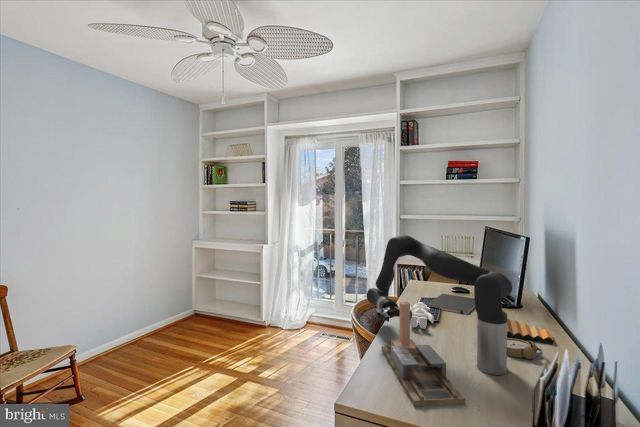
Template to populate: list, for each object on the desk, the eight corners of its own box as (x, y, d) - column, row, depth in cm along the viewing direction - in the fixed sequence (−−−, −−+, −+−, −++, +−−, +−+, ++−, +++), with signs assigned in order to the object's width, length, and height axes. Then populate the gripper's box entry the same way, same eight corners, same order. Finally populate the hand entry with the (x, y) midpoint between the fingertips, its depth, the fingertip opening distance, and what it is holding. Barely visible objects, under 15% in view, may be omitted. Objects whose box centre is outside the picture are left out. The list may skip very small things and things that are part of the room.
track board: (381, 350, 130) (381, 344, 130) (419, 349, 131) (419, 343, 131) (413, 406, 94) (413, 397, 94) (464, 403, 95) (465, 395, 95)
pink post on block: (391, 347, 129) (391, 300, 129) (411, 346, 130) (411, 300, 129) (397, 356, 121) (397, 306, 121) (418, 355, 122) (418, 306, 121)
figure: (432, 335, 149) (434, 314, 172) (433, 319, 148) (434, 299, 171) (403, 331, 153) (409, 311, 177) (403, 315, 153) (409, 297, 176)
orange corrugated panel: (485, 318, 168) (485, 335, 146) (485, 311, 168) (485, 327, 146) (543, 325, 157) (553, 345, 135) (543, 318, 157) (553, 337, 135)
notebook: (442, 296, 207) (426, 308, 185) (442, 293, 207) (426, 303, 185) (479, 303, 194) (467, 315, 172) (479, 299, 194) (467, 311, 172)
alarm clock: (501, 336, 137) (543, 339, 126) (503, 348, 136) (546, 353, 126) (493, 344, 128) (537, 349, 118) (495, 357, 128) (540, 363, 118)
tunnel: (390, 359, 119) (390, 346, 119) (428, 358, 120) (428, 344, 120) (403, 380, 105) (403, 364, 105) (446, 378, 106) (446, 363, 106)
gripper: (371, 298, 146) (381, 310, 130) (402, 297, 147) (416, 309, 131) (371, 315, 146) (381, 329, 130) (402, 314, 147) (416, 327, 131)
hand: (399, 319), depth 130 cm, fingers open, 8 cm apart
